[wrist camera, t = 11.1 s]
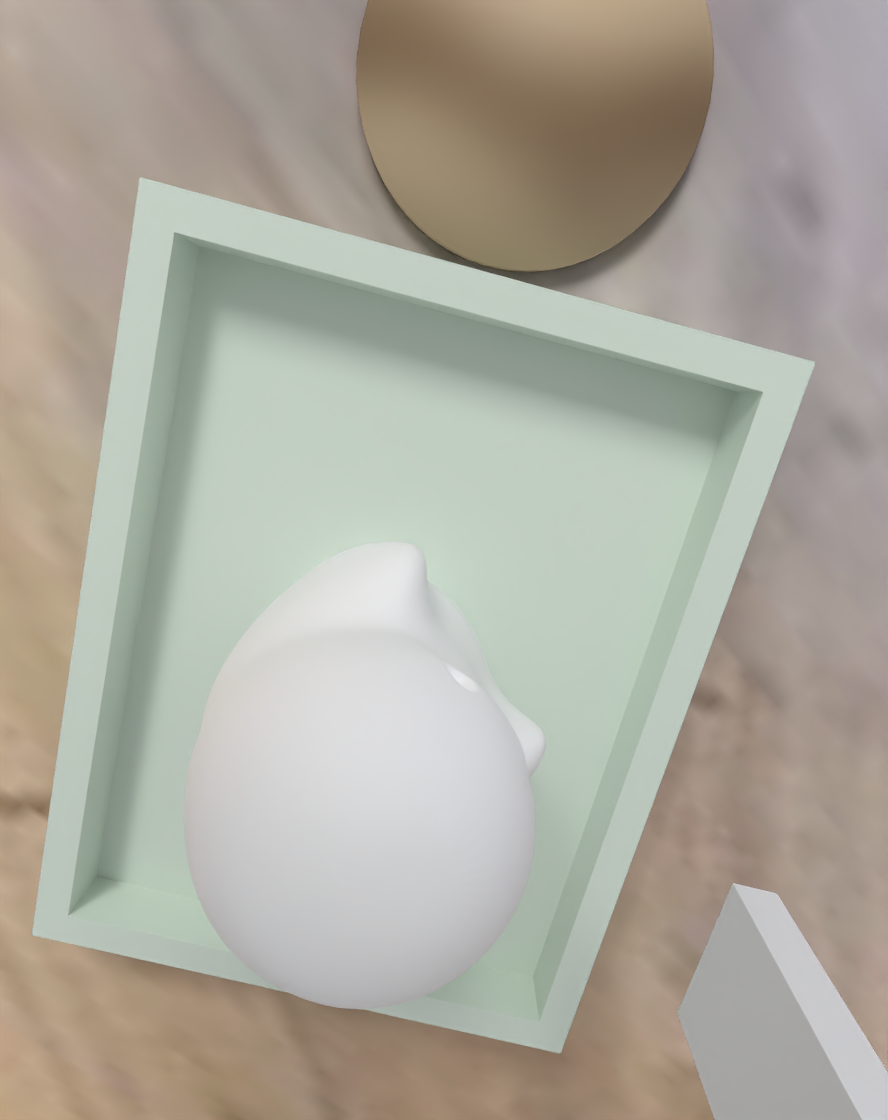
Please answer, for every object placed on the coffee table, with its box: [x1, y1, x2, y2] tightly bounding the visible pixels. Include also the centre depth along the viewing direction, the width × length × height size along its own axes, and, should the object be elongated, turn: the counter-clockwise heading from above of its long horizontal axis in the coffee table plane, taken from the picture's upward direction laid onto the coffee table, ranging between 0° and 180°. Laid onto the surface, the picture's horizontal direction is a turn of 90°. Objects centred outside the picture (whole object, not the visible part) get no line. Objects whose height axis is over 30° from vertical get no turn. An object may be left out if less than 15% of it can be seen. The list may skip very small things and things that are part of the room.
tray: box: [32, 177, 816, 1054], centre depth 21 cm, size 22×17×2 cm
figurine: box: [184, 542, 546, 1009], centre depth 16 cm, size 7×8×12 cm
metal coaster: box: [356, 0, 714, 272], centre depth 18 cm, size 9×9×1 cm
